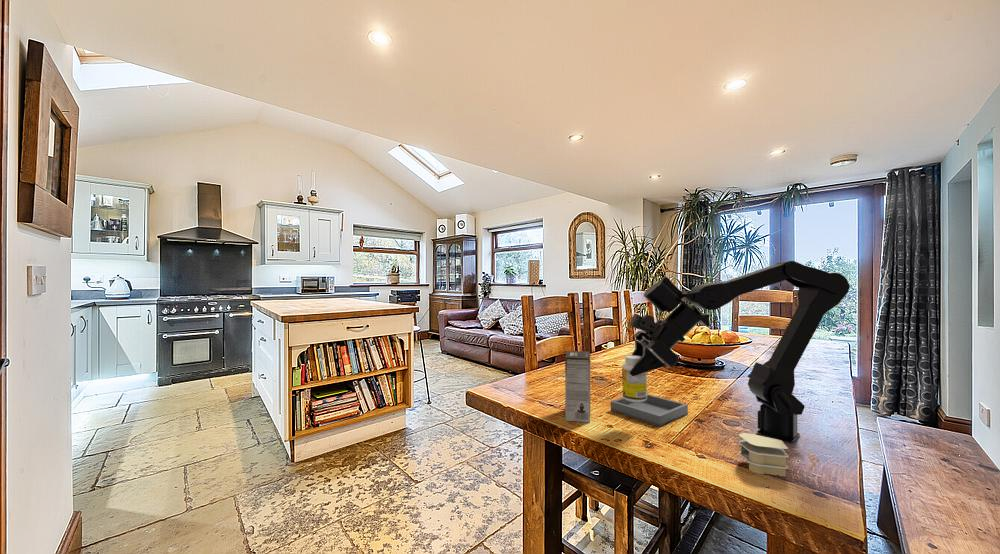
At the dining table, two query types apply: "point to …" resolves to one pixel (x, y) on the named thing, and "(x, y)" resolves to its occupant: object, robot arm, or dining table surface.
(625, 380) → the supplement bottle
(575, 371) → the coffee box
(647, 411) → the tray
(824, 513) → the dining table surface
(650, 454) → the dining table surface
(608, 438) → the dining table surface
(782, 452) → the stacked layers on plate
